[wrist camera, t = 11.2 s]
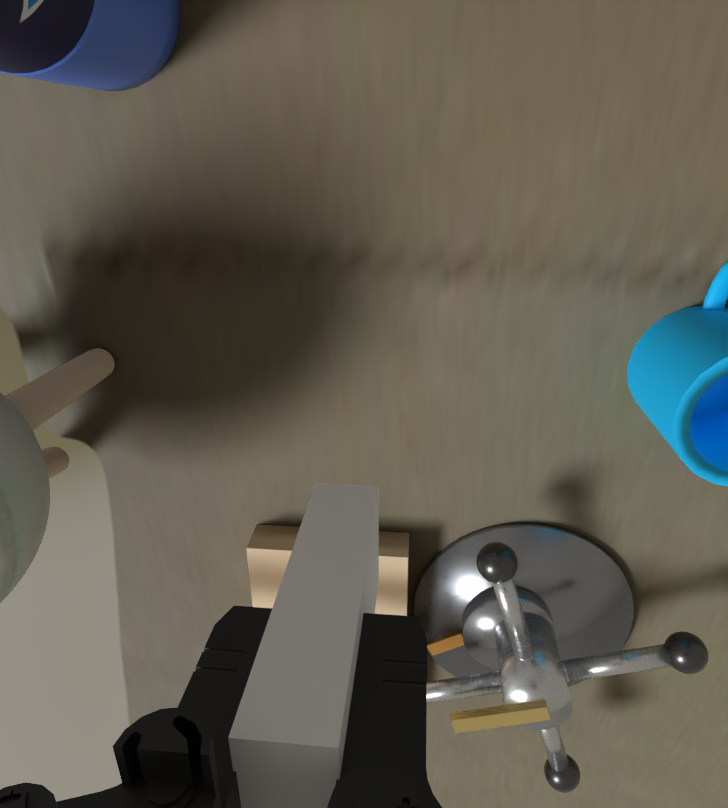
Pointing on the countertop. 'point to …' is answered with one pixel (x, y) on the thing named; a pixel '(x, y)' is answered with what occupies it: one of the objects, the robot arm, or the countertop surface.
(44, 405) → the planter
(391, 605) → the stand
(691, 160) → the countertop surface
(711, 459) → the mug
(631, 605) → the base plate
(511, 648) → the capstan
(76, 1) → the water bottle
